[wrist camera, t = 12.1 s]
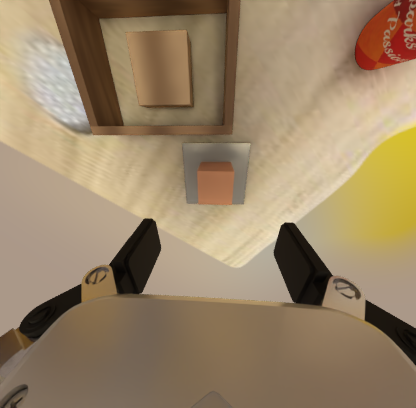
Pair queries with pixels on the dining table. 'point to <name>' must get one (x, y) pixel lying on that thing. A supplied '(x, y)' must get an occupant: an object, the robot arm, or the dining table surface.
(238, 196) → the pad
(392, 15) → the paper cup
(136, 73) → the crate
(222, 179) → the block
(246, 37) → the dining table surface
